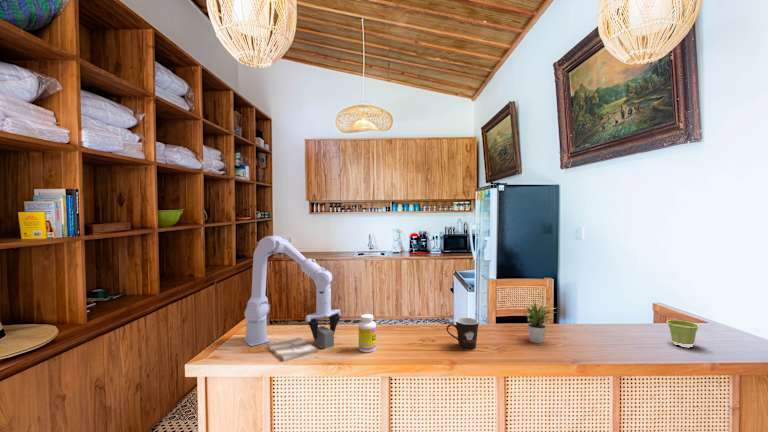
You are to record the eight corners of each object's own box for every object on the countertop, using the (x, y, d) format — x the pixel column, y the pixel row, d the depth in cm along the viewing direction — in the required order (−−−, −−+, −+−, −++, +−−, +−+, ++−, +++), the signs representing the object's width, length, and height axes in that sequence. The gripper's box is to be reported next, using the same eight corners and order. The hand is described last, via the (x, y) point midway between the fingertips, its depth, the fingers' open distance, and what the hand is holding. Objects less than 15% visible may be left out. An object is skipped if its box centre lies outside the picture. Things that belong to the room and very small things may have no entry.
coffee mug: (480, 344, 134) (480, 319, 134) (476, 352, 126) (476, 325, 126) (451, 340, 139) (451, 315, 139) (445, 347, 131) (445, 321, 131)
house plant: (546, 351, 126) (546, 308, 126) (511, 341, 137) (511, 301, 137) (562, 342, 136) (561, 301, 136) (528, 333, 146) (528, 295, 146)
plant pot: (672, 348, 129) (672, 325, 129) (662, 339, 138) (662, 318, 137) (704, 352, 125) (704, 328, 125) (692, 343, 134) (692, 321, 134)
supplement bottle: (373, 353, 126) (373, 318, 126) (356, 352, 127) (356, 318, 127) (377, 346, 132) (377, 313, 132) (361, 345, 133) (361, 312, 133)
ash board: (267, 347, 132) (267, 344, 132) (299, 339, 140) (299, 336, 140) (283, 361, 119) (283, 357, 119) (317, 351, 127) (317, 348, 127)
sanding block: (314, 342, 137) (313, 327, 137) (322, 340, 139) (322, 325, 139) (324, 349, 130) (324, 333, 130) (333, 346, 132) (333, 331, 132)
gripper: (311, 306, 127) (311, 343, 127) (344, 300, 136) (344, 334, 136) (303, 303, 133) (303, 337, 133) (335, 297, 142) (335, 329, 142)
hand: (323, 335), depth 135 cm, fingers open, 7 cm apart
